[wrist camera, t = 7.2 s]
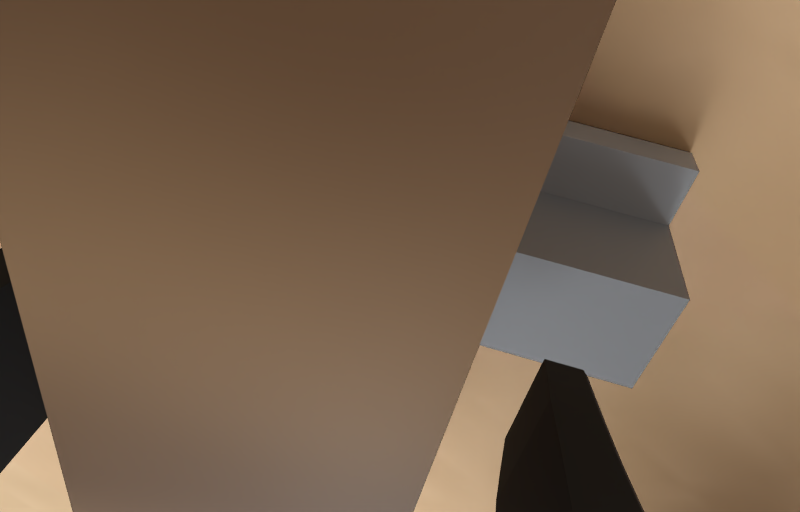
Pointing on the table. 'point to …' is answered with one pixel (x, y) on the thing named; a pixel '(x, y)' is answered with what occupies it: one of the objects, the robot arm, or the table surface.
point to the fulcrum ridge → (597, 258)
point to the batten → (269, 232)
